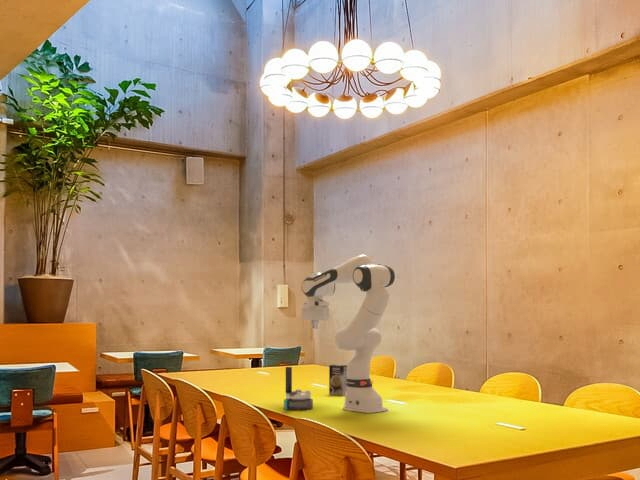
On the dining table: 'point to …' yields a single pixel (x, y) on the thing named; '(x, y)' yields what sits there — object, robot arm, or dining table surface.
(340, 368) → the coffee box
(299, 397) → the disc with upright handle
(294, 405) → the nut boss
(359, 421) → the dining table surface
